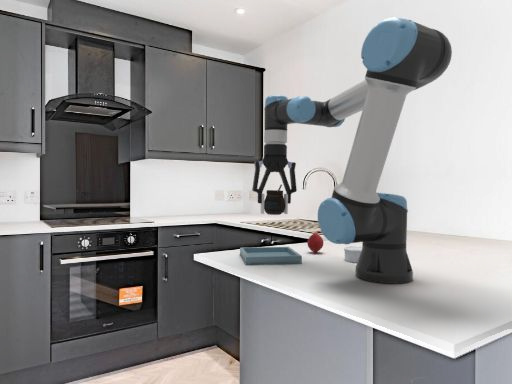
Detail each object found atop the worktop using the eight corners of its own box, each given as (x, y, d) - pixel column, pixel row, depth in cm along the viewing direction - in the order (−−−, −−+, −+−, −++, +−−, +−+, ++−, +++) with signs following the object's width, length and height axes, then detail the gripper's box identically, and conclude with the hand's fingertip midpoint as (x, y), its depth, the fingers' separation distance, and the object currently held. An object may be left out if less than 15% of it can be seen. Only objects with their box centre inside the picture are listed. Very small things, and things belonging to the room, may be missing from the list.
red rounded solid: (318, 255, 142) (318, 232, 142) (304, 253, 146) (304, 231, 145) (325, 252, 147) (326, 231, 146) (312, 251, 150) (312, 230, 150)
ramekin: (372, 264, 128) (372, 250, 127) (343, 262, 129) (344, 249, 129) (369, 258, 136) (369, 246, 136) (343, 257, 138) (343, 245, 138)
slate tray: (301, 263, 127) (301, 255, 127) (246, 265, 124) (246, 257, 124) (288, 253, 145) (288, 246, 145) (240, 254, 142) (240, 247, 142)
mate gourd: (259, 214, 129) (259, 183, 129) (269, 213, 136) (269, 183, 135) (279, 215, 126) (280, 184, 125) (288, 214, 132) (289, 184, 132)
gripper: (302, 145, 135) (300, 212, 136) (243, 143, 132) (242, 212, 133) (308, 144, 128) (306, 214, 129) (246, 142, 125) (245, 214, 126)
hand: (274, 213), depth 131 cm, fingers closed on mate gourd, 7 cm apart
